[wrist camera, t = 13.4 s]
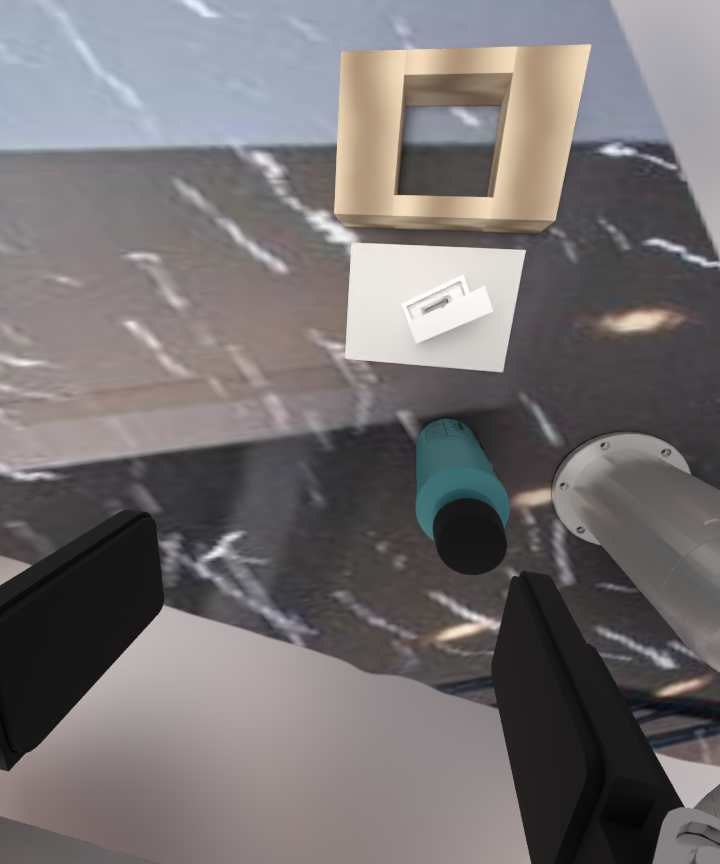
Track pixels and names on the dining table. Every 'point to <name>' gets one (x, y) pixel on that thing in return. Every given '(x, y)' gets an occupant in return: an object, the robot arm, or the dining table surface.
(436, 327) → the white angled block
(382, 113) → the block
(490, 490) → the beverage bottle
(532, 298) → the dining table surface
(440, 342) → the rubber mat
